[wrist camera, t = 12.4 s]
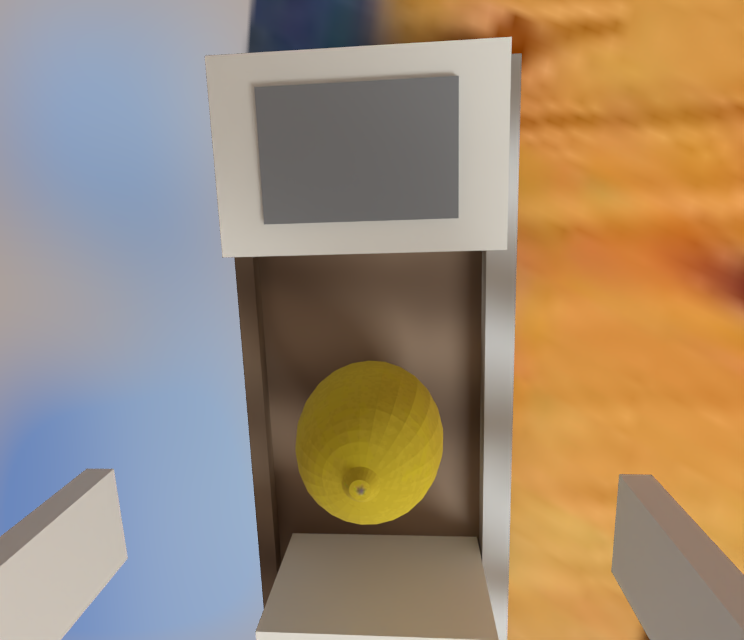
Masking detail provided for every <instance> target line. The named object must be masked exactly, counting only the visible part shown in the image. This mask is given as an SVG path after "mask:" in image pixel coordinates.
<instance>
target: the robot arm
mask: <svg viewBox="0 0 744 640" xmlns="http://www.w3.org/2000/svg"><path fill="white" fill-rule="evenodd" d="M127 558H128V557H127V550H126V544H125V538H124V531H123V525H122V519H121V512H120V506H119V500H118V493H117V487H116V480H115V474H114V469H86V470H85V471H83V472H82V473H81V474H79V475H78V476H77V477H76V478H74V479H73V480H72V481H71V482H69V483H68V484H67V485H66V486H64V487H63V488H62V489H60V490H59V491H58V492H57V493H55V494H54V495H53V496H52V497H50V498H49V499H48V500H46V501H45V502H44V503H43V504H41V505H40V506H39V507H37V508H36V509H35V510H34V511H32V512H31V513H30V514H29V515H27V516H26V517H25V518H23V519H22V520H21V521H20V522H18V523H17V524H16V525H15V526H13V527H12V528H11V529H9V530H8V531H7V532H6V533H4V534H3V535H2V536H1V537H0V640H61V639H62V638H63V636H64V635H65V634H66V633H67V632H68V631H69V629H70V628H71V627H72V625H73V624H74V623H75V622H76V621H77V620H78V618H79V617H80V616H81V615H82V613H83V612H84V611H85V610H86V608H87V607H88V606H89V605H90V604H91V603H92V601H93V600H94V599H95V598H96V596H97V595H98V594H99V593H100V592H101V590H102V589H103V588H104V587H105V586H106V584H107V583H108V582H109V581H110V579H111V578H112V577H113V576H114V575H115V573H116V572H117V571H118V570H119V568H120V567H121V566H122V565H123V563H124V562H125V561H126V560H127ZM612 573H613V575H614V577H615V579H616V580H617V582H618V584H619V586H620V587H621V589H622V591H623V593H624V595H625V596H626V598H627V600H628V602H629V604H630V605H631V607H632V609H633V611H634V613H635V614H636V616H637V618H638V620H639V622H640V623H641V625H642V627H643V629H644V630H645V632H646V634H647V636H648V638H649V639H650V640H744V575H743V574H742V573H741V571H740V570H739V569H738V568H737V567H736V566H735V565H734V564H733V563H732V562H731V561H730V559H729V558H728V557H727V556H726V555H725V554H724V553H723V552H722V551H721V550H720V549H719V548H718V546H717V545H716V544H715V543H714V542H713V541H712V540H711V539H710V538H709V537H708V536H707V534H706V533H705V532H704V531H703V530H702V529H701V528H700V527H699V526H698V525H697V524H696V522H695V521H694V520H693V519H692V518H691V517H690V516H689V515H688V514H687V513H686V512H685V511H684V509H683V508H682V507H681V506H680V505H679V504H678V503H677V502H676V501H675V500H674V499H673V497H672V496H671V495H670V494H669V493H668V492H667V491H666V490H665V489H664V488H663V487H662V485H661V484H660V483H659V482H658V481H657V480H656V479H655V478H654V477H653V476H652V475H632V474H619V484H618V496H617V509H616V521H615V534H614V546H613V558H612Z"/></svg>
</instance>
